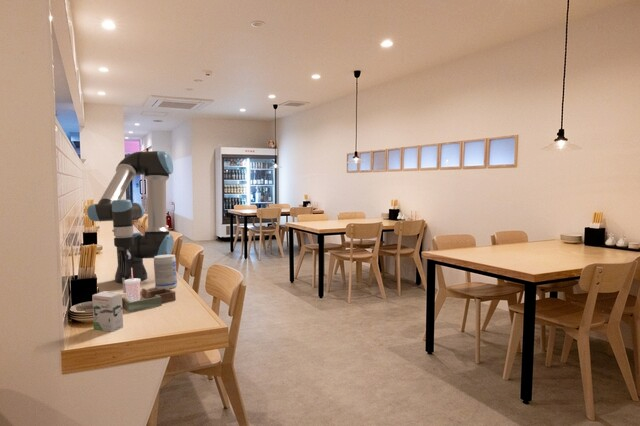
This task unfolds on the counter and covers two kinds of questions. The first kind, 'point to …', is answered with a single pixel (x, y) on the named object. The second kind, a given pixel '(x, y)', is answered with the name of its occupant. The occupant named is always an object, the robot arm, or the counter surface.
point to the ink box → (107, 311)
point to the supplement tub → (165, 271)
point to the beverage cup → (133, 288)
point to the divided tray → (149, 299)
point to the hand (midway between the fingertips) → (127, 292)
